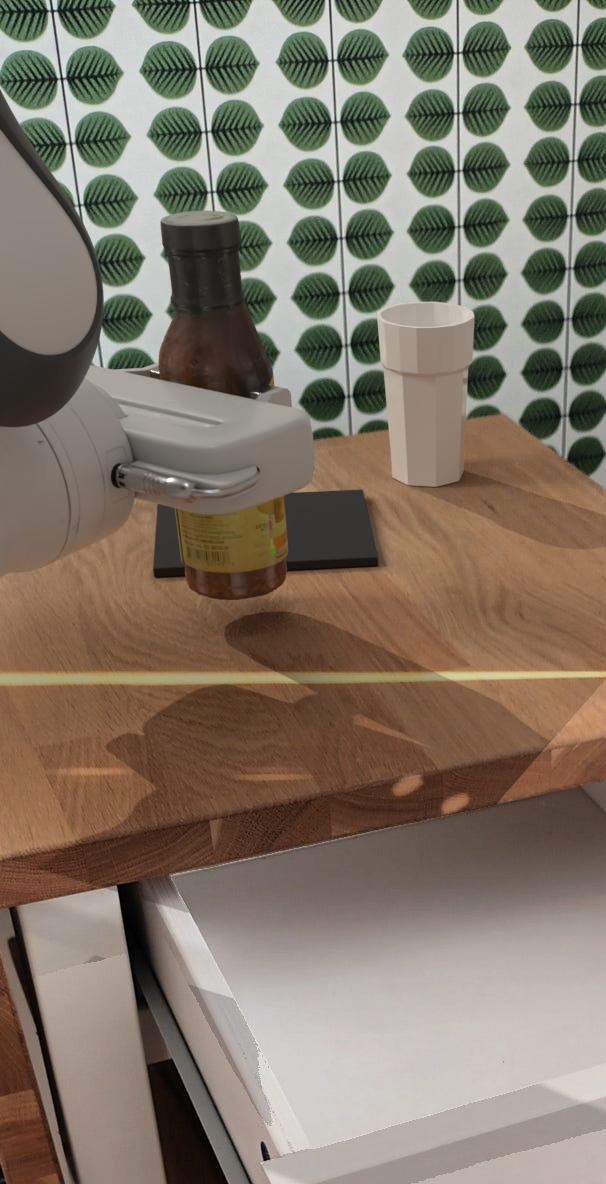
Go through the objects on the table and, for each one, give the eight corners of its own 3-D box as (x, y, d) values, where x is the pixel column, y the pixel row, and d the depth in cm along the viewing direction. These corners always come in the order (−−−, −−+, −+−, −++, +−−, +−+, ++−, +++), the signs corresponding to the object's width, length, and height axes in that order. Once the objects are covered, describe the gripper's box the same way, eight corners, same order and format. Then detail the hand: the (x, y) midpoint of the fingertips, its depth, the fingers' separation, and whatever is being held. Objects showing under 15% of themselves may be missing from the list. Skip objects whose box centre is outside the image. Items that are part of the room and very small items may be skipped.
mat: (154, 577, 97) (152, 568, 97) (158, 506, 106) (157, 498, 106) (378, 565, 99) (378, 556, 98) (363, 497, 108) (362, 489, 108)
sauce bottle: (305, 594, 90) (282, 225, 78) (201, 613, 88) (161, 236, 76) (268, 554, 95) (242, 200, 83) (168, 571, 93) (127, 210, 81)
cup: (374, 462, 114) (368, 304, 107) (462, 455, 115) (461, 299, 109) (391, 494, 109) (386, 330, 102) (483, 486, 110) (484, 324, 103)
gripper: (203, 434, 70) (379, 360, 79) (-111, 363, 79) (82, 303, 88) (216, 568, 74) (383, 481, 83) (-85, 485, 82) (98, 416, 92)
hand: (226, 389), depth 86 cm, fingers closed on sauce bottle, 6 cm apart
